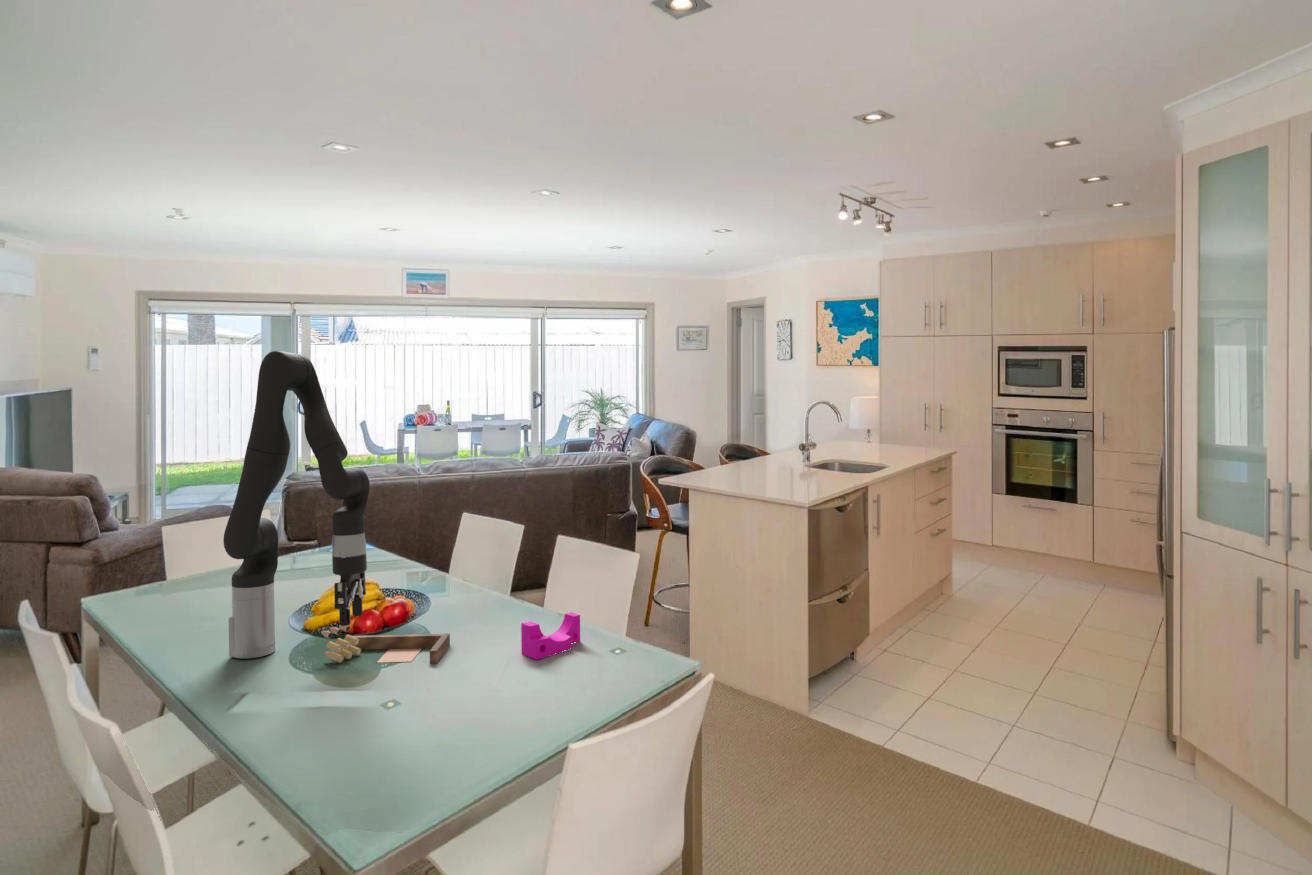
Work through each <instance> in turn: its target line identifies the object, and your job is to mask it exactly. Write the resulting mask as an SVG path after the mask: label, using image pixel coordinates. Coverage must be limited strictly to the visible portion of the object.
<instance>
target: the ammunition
mask: <svg viewBox="0 0 1312 875" xmlns="http://www.w3.org/2000/svg"><path fill="white" fill-rule="evenodd" d="M350 630H351V626H350V625H348V626H341V625H340V624H339V625H338V627H336V626H331V627H330V628H329V630H322V631H320V633H321V635H323V636H324V638H327V639H331V638H332V637H333V634H334V635H337V636H340V634H341V633H342V631H343V632H346V633H347V632H349V631H350ZM353 636H354V635H350V634H346V635H345V636H344V637H343V638H344V639H343V638H340V637H338V638H336V639H335V642H333V641H331V640H330V641H328V642H326V648H327V649H329V650H331V651H325V652H324V655H325V656H326V657H327V658H328V659H330V660H332V661H335V662H337V663H339V664H341V663H342V662H343V661H344V659H347V660H350V659H352V658H353V655H355V656H359V655H360V654H361V653H362V649H359V648H357V647H355V646H352V645H351V644H353V645H357V644H358V643H359V639H358V638H356V637H353Z"/></svg>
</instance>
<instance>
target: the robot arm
mask: <svg viewBox="0 0 1312 875" xmlns="http://www.w3.org/2000/svg"><path fill="white" fill-rule="evenodd" d="M256 388H257V389H256V396H255V398H256V399H255V406H254V407H255V408H254V413H253V418H252V421H251V422H252V423H251V428H250V434H249V438H248V442H247V446H246V450H245V455H244V460H243V464H242V470H241V475H240V479H239V481H238V482H239V483H238V486H237V487H238V488H237V491H236V496H235V499H234V503H233V505H232V508H231V512H230V514H229V518H228V520H227V523H226V527H225V530H224V534H223V539H222V540H223V547H224V550H225V552H226V553H227V555H228V556H229V557H230V558H232V559H234V560H243V561H242V563H241V565H240V566H239V567H238V569H237V570H236V571H234V572H233V574H232V575H231V610H232V611H231V613H232V614H231V616H230V617H229V618H228V656H229V658H236V659H255V658H261V657H264V656H267V655H270V654H273V653H274V652H275V651H276V619H275V618H276V614H275V612H276V611H275V610H276V609H275V606H276V605H275V575H276V573H277V569H278V566H279V564H278V563H279V534H278V529H277V527H276V525H275V523H274V522H273V521H271V520H270V519H269V518H266V517H262V514H263V511H264V507H265V504H266V503H267V501H268V499H269V497H270V496H271V494H272V493H273V491H274V490H275V489H276V487H277V486H278V484H279V483H280V482H281V480H282V477H283V476H284V474H285V471H286V468H287V464H288V459H289V455H290V451H291V440H290V436H289V432H288V429H287V426H286V422H285V419H284V418H285V416H284V407H285V401H286V396H287V393H288V391H289V392H291V391H292V392H293V393H294V394H295V396H296V398H297V399H298V401H299V402H300V405H301V407H302V410H303V414H304V415H303V416H304V421H303V424H304V426H303V428H304V434H305V438H306V440H307V443H308V445H309V448H310V449H311V451H312V454H313V455H314V456H315V459H316V460H317V465H318V471H319V476H320V481H321V485H322V488H323V490H324V491H325V493H326V494H327V495H328V496H329V497H330V498H332V499H333V500H337V501H341V500H342V504H341V506H340V508H338V509H337V510H335V511H333V513H332V518H331V522H332V523H331V524H332V525H331V529H332V530H331V531H332V540H331V559H332V560H331V561H332V562H331V564H332V573H333V574H334V575H335V576H339V578H340V580H339V582H335V583H334V610H338V611H339V612H338V613H339V625H341V626H350V625H351V613H352V616H353V617H361V616H362V615H363V609H364V608H363V600H364V596H366V594H367V590H366V589H367V588H366V586H367V585H366V571H367V569H368V564H367V563H368V561H367V559H368V558H367V541H366V535H365V534H366V532H365V531H366V530H365V513H366V512H365V511H366V509H367V505H368V500H369V496H370V495H369V494H370V485H371V484H370V479H369V477H368V474H367V473H366V471H364V470H363V469H362V468H357V467H356V468H355V467H352V468H344V466H343V461H344V460H345V459H346V458H348V454H349V453H348V448H347V447H346V445H345V444H344V441H343V439H342V437H341V435H340V433H339V431H338V430H337V427H336V426H335V423H334V421H333V419H332V416H331V414H330V411H329V409H328V407H327V401H326V399H325V397H324V394H323V391H322V387H321V384H320V382H319V377H318V375H317V371H316V369H315V366H314V364H313V362H312V361H311V359H309V357H307V356H306V355H303V354H301V353H295V352H290V351H283V350H272V351H270V352H268V353H267V354H266V355H265V356H264V358H263V359H262V361H261V364H260V366H259V370H258V377H257V387H256ZM351 605H352V606H351ZM351 607H352V608H351ZM351 609H352V612H351Z"/></svg>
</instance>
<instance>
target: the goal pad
mask: <svg viewBox="0 0 1312 875" xmlns="http://www.w3.org/2000/svg"><path fill="white" fill-rule="evenodd" d="M422 649H423V648H401V649H387V651H386V652H385V653H384V654H383V655H382V656H381V657H380V658H379V660H377V662H376V664H379V663H381V664H383V663H386V664H387V663H388V664H389V663H412V662H413V661H414V659H416V657H417V656H418V654H419V653H420V652H421V651H422Z"/></svg>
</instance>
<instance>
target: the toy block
mask: <svg viewBox="0 0 1312 875" xmlns="http://www.w3.org/2000/svg"><path fill="white" fill-rule="evenodd" d="M520 626H521V628H520V631H521V634H520V635H521V654H522V655H523V654H524V656H526V657H529V658H530V659H533V660H535V661H536V660H540V659H544V658H548V657H550V656H549V655H552V656H554V655H553V654H555V653H559V652H562V651H564V650H568V649H570V648H571V649H572V645H571V643H574V642H578V641H580V642H581V614H578V613H575V612H567V613H564V617H563V621H562V623H561V625H560V627H559V628H558V629H557V630H556V631H555V632H553V633H552V634H549V635H544V634H543V632H542V630H541V628H540V624H539V623H537V622H533V621H530V620H529V621H527V622H522V623H521V624H520ZM578 643H579V642H578ZM568 651H569V650H568ZM562 653H563V652H562ZM559 654H560V653H559ZM547 656H548V657H547Z"/></svg>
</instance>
